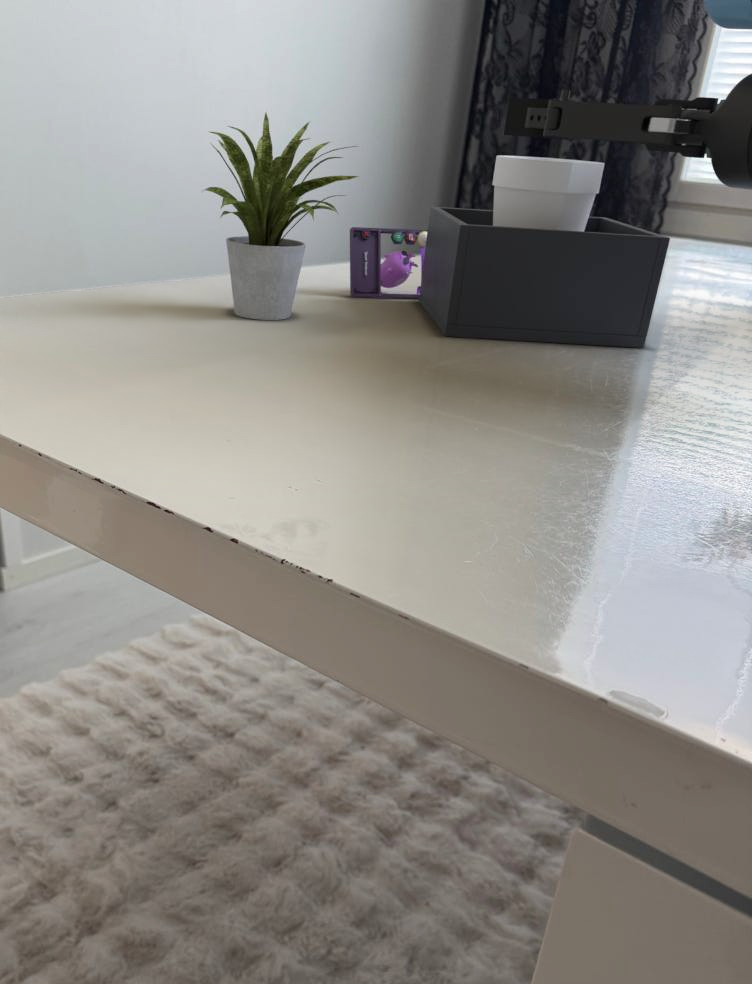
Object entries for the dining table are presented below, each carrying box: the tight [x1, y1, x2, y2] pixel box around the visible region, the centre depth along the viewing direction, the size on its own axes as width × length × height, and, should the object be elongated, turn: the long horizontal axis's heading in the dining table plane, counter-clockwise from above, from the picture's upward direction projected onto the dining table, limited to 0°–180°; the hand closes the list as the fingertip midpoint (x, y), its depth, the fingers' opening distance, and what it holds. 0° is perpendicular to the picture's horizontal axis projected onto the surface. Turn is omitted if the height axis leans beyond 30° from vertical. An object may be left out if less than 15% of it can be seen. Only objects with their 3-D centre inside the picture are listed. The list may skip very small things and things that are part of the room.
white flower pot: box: [491, 154, 606, 232], centre depth 88 cm, size 10×9×13 cm
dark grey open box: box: [418, 206, 671, 349], centre depth 89 cm, size 18×18×9 cm
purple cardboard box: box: [349, 226, 428, 299], centre depth 101 cm, size 7×5×9 cm
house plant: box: [201, 111, 359, 321], centre depth 82 cm, size 14×14×16 cm
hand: (568, 121), depth 83 cm, fingers open, 13 cm apart
